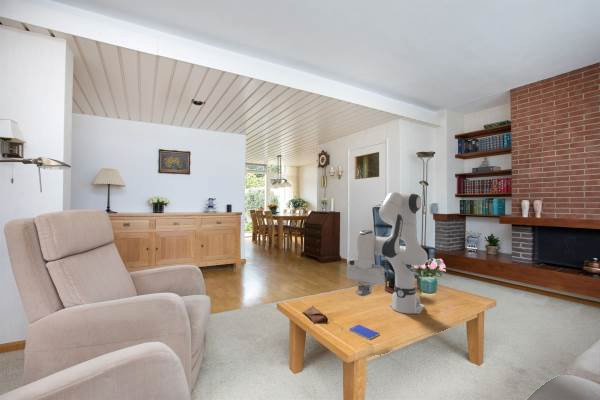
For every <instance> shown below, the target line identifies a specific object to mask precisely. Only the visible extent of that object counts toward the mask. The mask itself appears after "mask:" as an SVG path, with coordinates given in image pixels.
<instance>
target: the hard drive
mask: <svg viewBox="0 0 600 400" xmlns="http://www.w3.org/2000/svg"><path fill="white" fill-rule="evenodd" d="M348 331H350V332H352V333H354V334H357V335H359V336H361V337H363V338H365V339H367V340H372V339H373V338H375V337H377V336H379V335H380V332H378V331H375V330H373V329H371V328H368V327H366V326H364V325H361V324H357V325H354V326H352V327H350V328H349V329H348Z"/></svg>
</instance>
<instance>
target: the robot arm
mask: <svg viewBox="0 0 600 400" xmlns="http://www.w3.org/2000/svg"><path fill="white" fill-rule="evenodd" d="M421 206H422V199H421V196H420V195H419V194H416V193H400V192H397V191H392V192H389V193H388V194H387V195H386V196H385V197H384V199H383V201H382V203H381V205H380V207H379V209H378V215H379V218H380V219H381V220H382V221H383V222H384V223H386V224H388V225H390V226H392V227H391V231H390V232H391V233H390V235H389V236H378V235H376V234H375V233H374V231H373V230H370V229H364V230H360V231H359V232H357V233H358V234H357V239H356V251H357V253H356V258H352V259H349V260H348V261H347V264H348V265H347V267H346V277H347V278H348V279H351V280H355V282H356V284H357V287H358V286H360V285H362V284H361V282H363V283H366V284H370V285H371V286H370V287H369V288H368V292H373V288H374V286H375V285H377V286H383V285H385V278H386V275H385V271H386V269H385V267H384V266H382V265H381V264H380V265H378V264H376V263H375V256H381V257H386V259H387V260H388V261H387V262H388V263H389V262H390V263H391V265H392V266H393V268H394V271H395V287H394V289H395V292H394V293H393V294H392V297H391V303H389V306H390V307H391V308H392V309H393V310H394V311H396V312H398V313H402V314H407V315H408V314H410V315H411V314H418V315H420V314H421V313H422V311H423V309H424V308H425V305H424V304H422V303H421V297H420V296H419V295H418V294H417V292H416V291H417V289H418V286H417V285H416V286H415V274H414V272H412V271H411V270H410V269H408V265H409V266H417V267H418V266H424V265H425V264H426V263H427V261H428V258H429V257H428V253H427V251H426V250H425V249H424V248H423V247H422V246H421V245H420V243H419V241H418V238H417V214H416V213H417V212H418V211H420V210H421ZM401 240H402V241H403V242H404V244H405V245H400V243H401ZM406 264H407V267H406Z"/></svg>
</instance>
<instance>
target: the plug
mask: <svg viewBox="0 0 600 400" xmlns="http://www.w3.org/2000/svg"><path fill="white" fill-rule="evenodd" d="M370 286H371V285H370V283H363V284H361V285H360V286H358V285H357V289H356V290H354V294H356V295H358V296H360V297H366V296H368V295H371V294H372V292H373V291H372V292H368V288H369V287H370Z"/></svg>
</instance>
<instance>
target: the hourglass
mask: <svg viewBox="0 0 600 400" xmlns="http://www.w3.org/2000/svg"><path fill="white" fill-rule="evenodd" d="M384 257H385V256H384ZM384 259H385V271H386V273H387V275H385V283H384V291H385V292H386V293H389V294H392V295H393V293H394V292H395V289H394V287H395V271H394V268H393V266H392V265H391V263H390V262H389V261H388V260H387V259H386V257H385V258H384ZM405 265H406V267H407V268H408V264H405ZM388 267H389V269H390V270H391V272H392V273H393V276H391V277H390V279H388V278H389V276H390V271H389V270H388Z"/></svg>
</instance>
